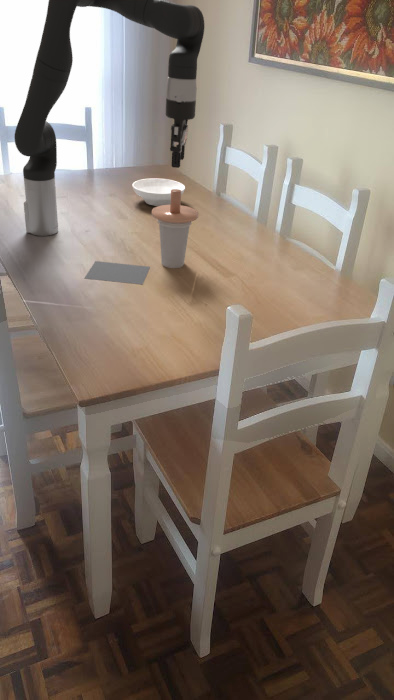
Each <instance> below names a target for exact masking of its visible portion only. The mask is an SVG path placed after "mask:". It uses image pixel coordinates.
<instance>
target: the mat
mask: <svg viewBox="0 0 394 700" xmlns="http://www.w3.org/2000/svg"><path fill="white" fill-rule="evenodd" d="M150 268H151V266H147V265H137V264H129V263H128V264H127V263H117V262H108V261H98V260H95V261H94V263H93V264H92V266H91V267H90V268H89V270H88V271H87V273H86V275H85V277H84V279H86V280H87V279H88V280H96V281H105V282H116V283H124V284H125V283H126V284H135V285H144V282H145V280H146V278H147V275H148V273H149V270H150Z"/></svg>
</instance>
